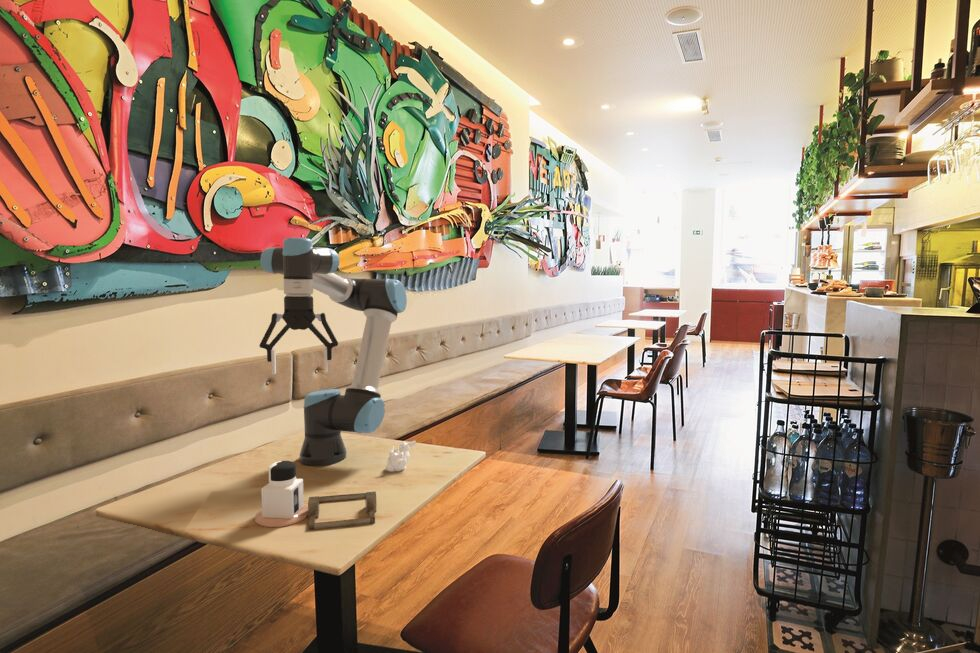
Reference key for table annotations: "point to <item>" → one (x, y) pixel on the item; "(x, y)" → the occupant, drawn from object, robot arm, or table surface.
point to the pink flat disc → (281, 522)
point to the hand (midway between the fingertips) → (300, 372)
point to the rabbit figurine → (399, 457)
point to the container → (282, 491)
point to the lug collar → (314, 513)
